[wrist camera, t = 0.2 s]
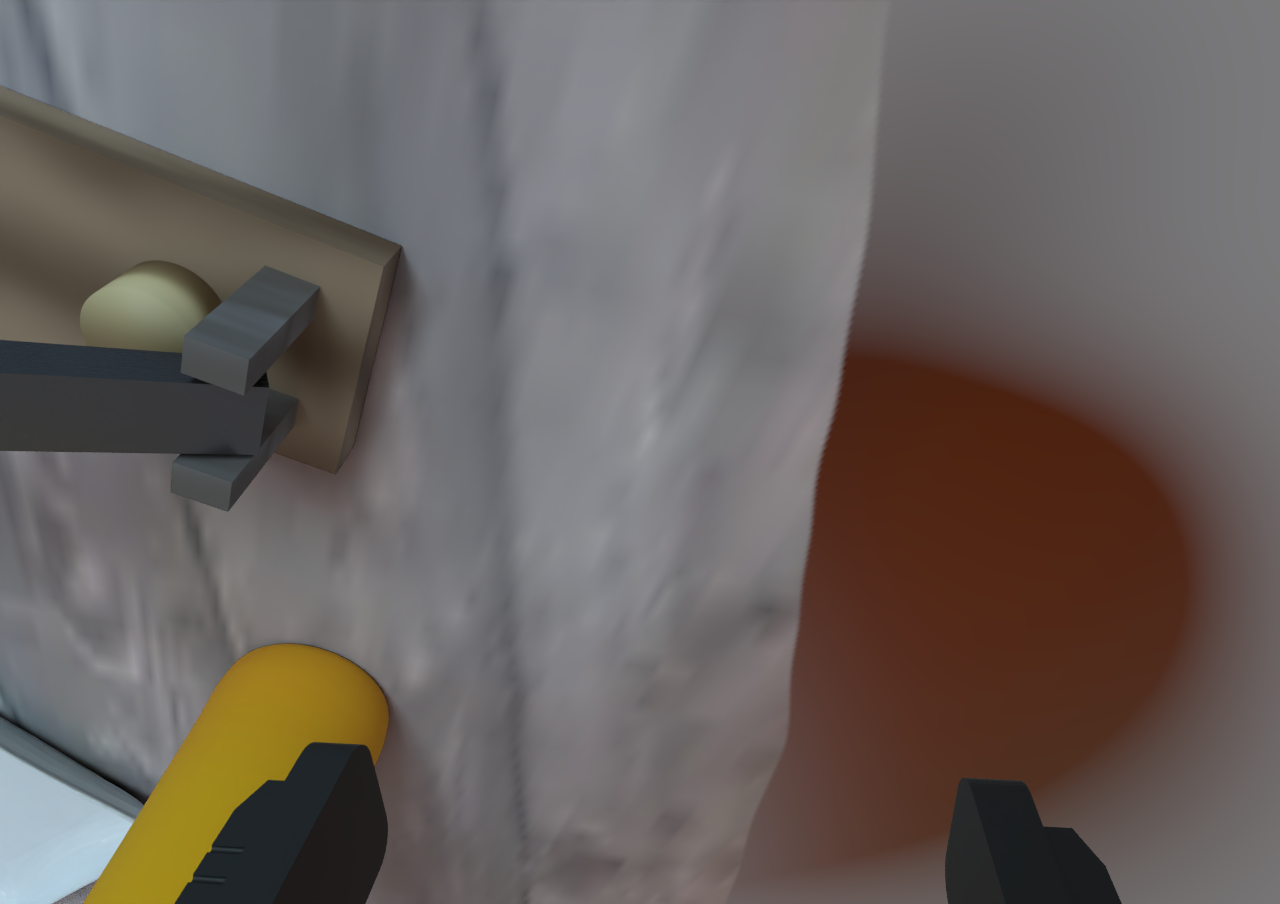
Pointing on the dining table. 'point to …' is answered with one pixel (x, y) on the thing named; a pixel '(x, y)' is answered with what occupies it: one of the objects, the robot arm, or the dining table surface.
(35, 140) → the press base
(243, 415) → the press lever
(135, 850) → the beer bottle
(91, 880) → the salad plate
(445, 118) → the dining table surface
